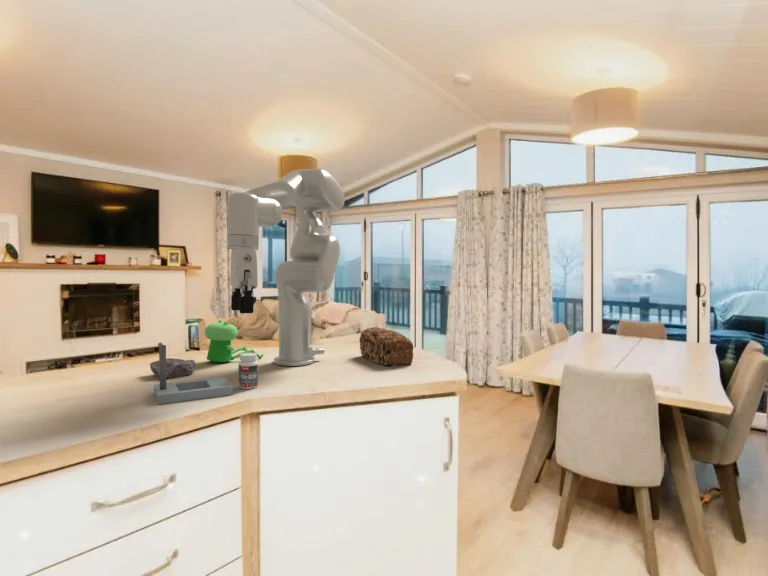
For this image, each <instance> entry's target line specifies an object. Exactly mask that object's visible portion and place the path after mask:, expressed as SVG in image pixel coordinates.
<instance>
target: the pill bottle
mask: <svg viewBox="0 0 768 576" xmlns="http://www.w3.org/2000/svg"><path fill="white" fill-rule="evenodd" d="M241 353H242V352H241ZM256 353H257V352H256ZM256 353H242V354H240V357H239V360H240V361H239V362H238V388H239V389H240V388H241V390H253V389H252V388H254V389H256V388H258V386H259V362H258V361H257V359H258V357H257V354H256Z"/></svg>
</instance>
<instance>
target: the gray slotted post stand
mask: <svg viewBox="0 0 768 576" xmlns="http://www.w3.org/2000/svg"><path fill="white" fill-rule="evenodd" d="M157 346H158V361H159V377H158V378H159V384H157V383H156V384H153V394H154V396H155V399H156V402H157V405H164V404H171V403H172V404H173V403H178V402H179V403H180V402H186V401H194V400H203V399H210V398H216V397H217V398H218V397H225V396H231V395H233V394H234V393H233V389H234V387H233V385H232V384H231V383H230V382H229V381H228V380H227V379H226V377H224V376H219V377H212V378H210V377H209V378H201V379H193V380H192V379H191V380H185V381H184V380H183V381H174V382H167V378H166V359H167V345H164V344H163V342H159V343H157Z"/></svg>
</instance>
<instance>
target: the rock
mask: <svg viewBox="0 0 768 576" xmlns="http://www.w3.org/2000/svg"><path fill="white" fill-rule="evenodd" d="M149 367H150V371H151V372H152V373H153V375H154V376H156V377H158V378H159V360H155V361H153V362H150V364H149ZM195 369H196V360H194V359H188V360H185V359H182V358H181V359H180V358H166V379H172V378H179V376H180V377H185V376H190V375H192V374H193V373H194V372H195Z"/></svg>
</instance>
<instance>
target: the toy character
mask: <svg viewBox="0 0 768 576" xmlns="http://www.w3.org/2000/svg"><path fill="white" fill-rule="evenodd" d="M238 333H239V332H238V327H236V326H235V325H234V324H232V323H229V321H228V320H226V321H223V320H222V319H219V320H218V322H214V323H210V324H208V325H207V327H205V329H204V335H205V336H206V338H207V339H208V340H210V341H209V346H208V352H207V356H206V361H209V362H213V363H216V364H217V363H220V364H221V363H226V362H230V361H233V360H235V359H238V358H240V354H242V353H256V354H257V359H259V360H261V359H262V358H263V357H264V354H259V353H258V352H256V351H255V350H254V349H248V348H246V347H245V346H241V347H238V348H236V349H235V348H234V347H233V346H232V341H233V340H235V338H237V336H238ZM240 351H242V352H240ZM237 352H239V353H237ZM236 353H237V354H236ZM234 354H235V355H234Z"/></svg>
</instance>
